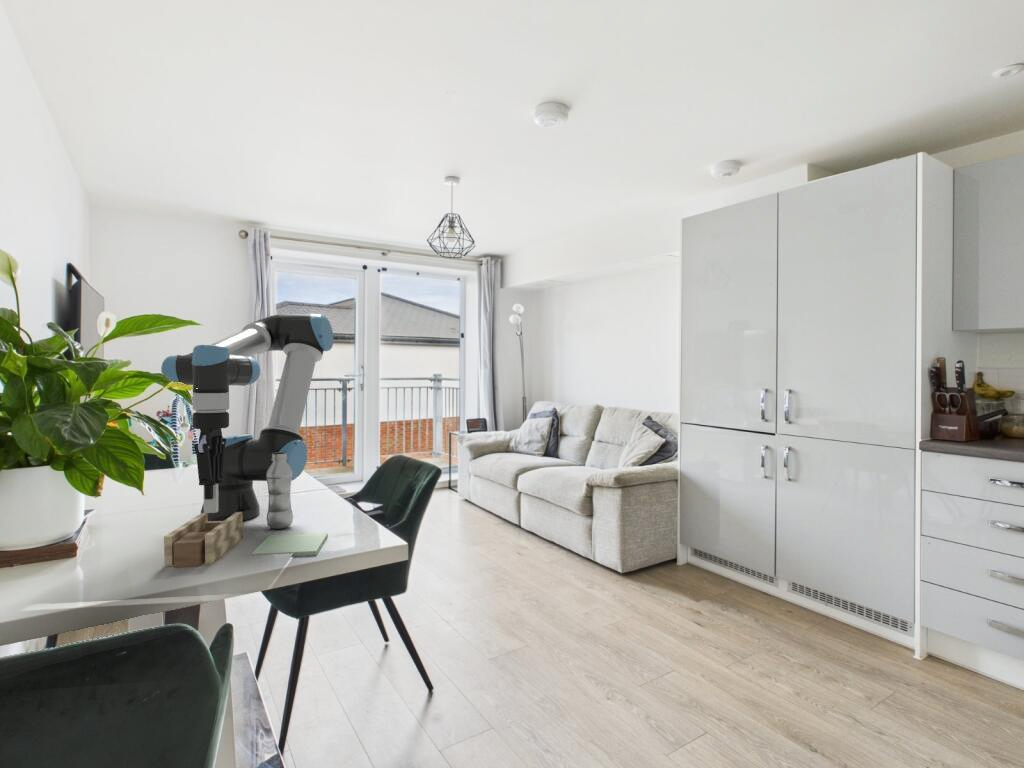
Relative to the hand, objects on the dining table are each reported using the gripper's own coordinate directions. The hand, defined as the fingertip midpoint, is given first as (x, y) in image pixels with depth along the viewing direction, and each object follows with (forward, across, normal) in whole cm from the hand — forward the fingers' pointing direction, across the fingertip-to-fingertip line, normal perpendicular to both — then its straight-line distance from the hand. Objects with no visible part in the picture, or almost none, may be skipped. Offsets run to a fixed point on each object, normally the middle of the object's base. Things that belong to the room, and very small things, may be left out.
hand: (211, 512), depth 129 cm
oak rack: (+9, +3, 0) cm, 9 cm away
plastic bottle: (+9, -16, +11) cm, 22 cm away
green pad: (+9, 0, +18) cm, 20 cm away
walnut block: (+8, +10, 0) cm, 13 cm away
